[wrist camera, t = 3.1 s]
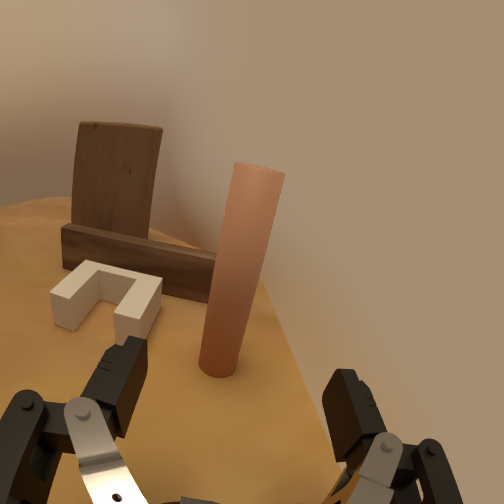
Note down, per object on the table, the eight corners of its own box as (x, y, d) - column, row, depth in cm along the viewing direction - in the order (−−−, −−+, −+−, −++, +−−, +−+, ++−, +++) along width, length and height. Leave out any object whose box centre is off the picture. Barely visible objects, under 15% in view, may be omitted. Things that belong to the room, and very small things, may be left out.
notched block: (140, 352, 24) (139, 319, 23) (55, 324, 23) (49, 292, 22) (160, 307, 31) (162, 277, 30) (87, 288, 30) (85, 259, 29)
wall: (213, 304, 35) (221, 261, 33) (63, 267, 33) (60, 227, 31) (214, 296, 37) (222, 254, 34) (69, 262, 35) (68, 223, 32)
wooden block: (109, 262, 38) (122, 122, 31) (70, 243, 40) (78, 120, 33) (148, 244, 47) (164, 127, 40) (109, 229, 49) (120, 123, 42)
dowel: (191, 360, 25) (224, 160, 18) (217, 347, 27) (257, 165, 21) (216, 383, 23) (263, 172, 16) (242, 367, 26) (294, 176, 19)
